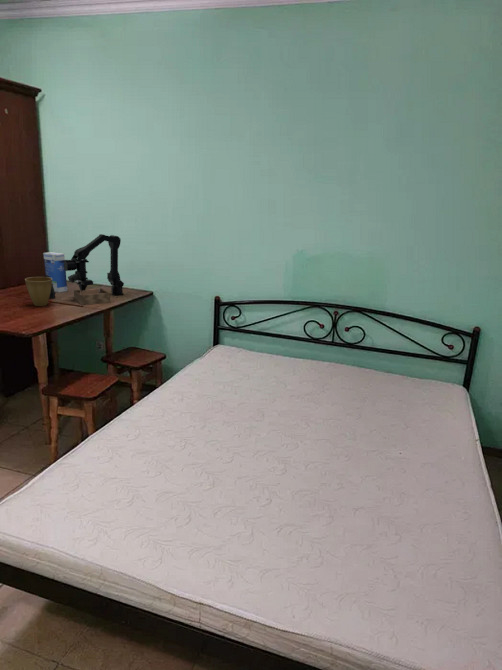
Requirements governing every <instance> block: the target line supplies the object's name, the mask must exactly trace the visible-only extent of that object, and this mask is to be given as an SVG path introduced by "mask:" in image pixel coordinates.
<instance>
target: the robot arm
mask: <svg viewBox="0 0 502 670" xmlns="http://www.w3.org/2000/svg"><path fill="white" fill-rule="evenodd" d="M104 242H107V243H108V246H109V249H110V270H109V272H107V273H106V274H107V277H106V279H107V281H108V282H109V284H110V285H111V289H110V290H111V291H110V295H113V296H123V295H124V292H123V287H124V286H125V285H124V284H125V283H124V282H123V281H122V280H121V275H120V273H119V248H120V246H121V242H122V241H121V237H120V236H117V235H113V234H111V235H106V234H99V235H98V236H96V237H95V238H94V239H92V240H91V241H90V242H89V243H87V244H86V245H84V246H82V247H79V248H77V249H75V251H74V253H73V256H72V257H71V259H65V262H64V265H63V266H64V270H65V271H66V272H68V271H69V272H70V271H74V273H73V274H71V275H69V276H67V280H68V281H69V283H72V284H73V283H75V284H76V285H77V286H78V287H79V290H80V292H81V291H82V290H87V287H88V286H91V285H92V286H93V285H94V281H93V280H92V279H88V277H87V274H88V271H87V263H90V260H88V259H87V257H88V256H89V255H90V253H91V252H92V251H93V250H95V249H96V248H97V247H98V246H100V245H101V244H102V243H104Z"/></svg>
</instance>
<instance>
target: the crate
mask: <svg viewBox="0 0 502 670" xmlns="http://www.w3.org/2000/svg"><path fill="white" fill-rule="evenodd" d="M73 300H74V301H75V302H77V303H78V304H80V305H81V306H87V305H96V304H106V303H111V292H109V291H107V290H105V289H103V288H101V287H100V294H91V295H82V294H81V290H80V289H78V290H77V289H76V290H73Z"/></svg>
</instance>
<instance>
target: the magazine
mask: <svg viewBox="0 0 502 670" xmlns="http://www.w3.org/2000/svg"><path fill="white" fill-rule="evenodd" d="M43 277H50V276H48V275H46V274H45V275H44V276H43ZM56 293H57V292H54V288H53V283H52V286H51V293H50V297H49V300H50V299H51V300H53V299H55V298H56Z"/></svg>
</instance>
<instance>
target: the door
mask: <svg viewBox="0 0 502 670" xmlns="http://www.w3.org/2000/svg"><path fill="white" fill-rule="evenodd" d="M100 288H101V287H100ZM100 288H92V289H91V288H90V289H85V290H82V291H81V290H80V294H81V295H91V294H100Z"/></svg>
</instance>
